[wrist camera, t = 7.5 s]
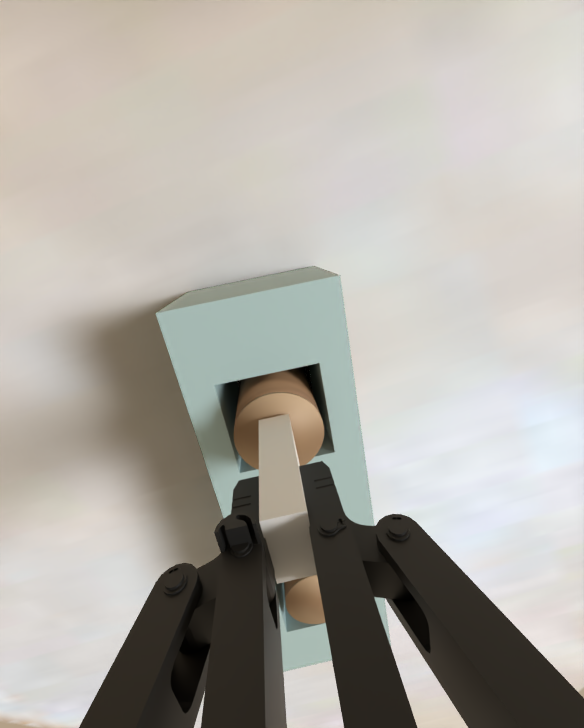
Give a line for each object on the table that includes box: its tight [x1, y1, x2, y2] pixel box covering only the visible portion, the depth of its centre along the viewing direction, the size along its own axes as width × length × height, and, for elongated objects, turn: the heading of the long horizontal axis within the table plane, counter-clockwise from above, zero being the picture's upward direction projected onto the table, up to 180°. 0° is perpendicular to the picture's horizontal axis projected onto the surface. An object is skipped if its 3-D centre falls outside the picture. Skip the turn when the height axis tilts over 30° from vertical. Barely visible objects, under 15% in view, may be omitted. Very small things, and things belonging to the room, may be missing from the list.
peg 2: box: [284, 575, 326, 624], centre depth 27 cm, size 5×5×8 cm
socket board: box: [156, 266, 391, 672], centre depth 25 cm, size 28×9×8 cm, turn 11°
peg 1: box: [234, 367, 324, 470], centre depth 21 cm, size 5×5×8 cm
